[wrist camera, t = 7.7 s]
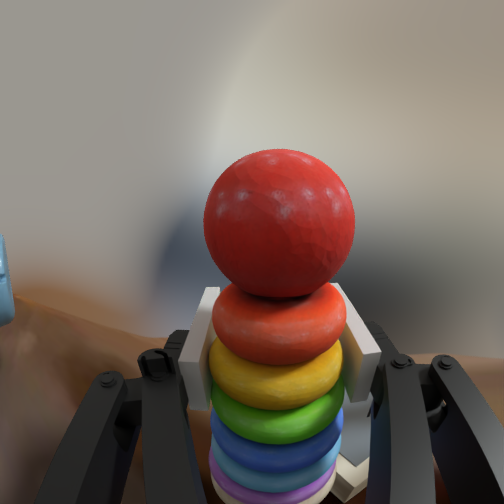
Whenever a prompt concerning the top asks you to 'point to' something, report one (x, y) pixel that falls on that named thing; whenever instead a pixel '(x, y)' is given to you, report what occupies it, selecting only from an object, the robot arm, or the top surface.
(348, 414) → the plinth
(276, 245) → the stacking toy
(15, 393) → the top surface
